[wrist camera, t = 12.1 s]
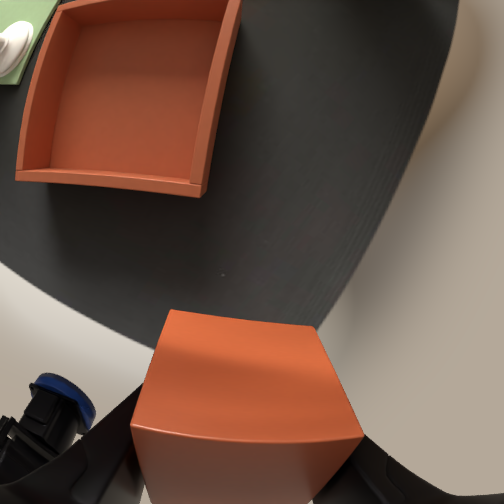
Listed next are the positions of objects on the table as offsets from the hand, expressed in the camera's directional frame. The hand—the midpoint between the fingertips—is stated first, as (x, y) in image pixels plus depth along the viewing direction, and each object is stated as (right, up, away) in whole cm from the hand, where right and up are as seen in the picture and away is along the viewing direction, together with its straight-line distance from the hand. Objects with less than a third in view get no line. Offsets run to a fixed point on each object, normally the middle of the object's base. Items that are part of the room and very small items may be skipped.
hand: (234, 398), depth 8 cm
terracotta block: (0, 0, +1) cm, 1 cm away
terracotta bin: (-7, +14, +6) cm, 16 cm away
